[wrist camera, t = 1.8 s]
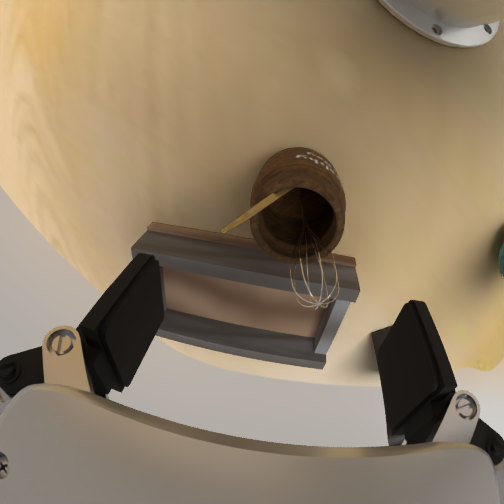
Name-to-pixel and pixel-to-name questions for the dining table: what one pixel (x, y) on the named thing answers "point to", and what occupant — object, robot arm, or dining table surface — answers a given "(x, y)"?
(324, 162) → the utensil holder
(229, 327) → the gray framed rectangular tray
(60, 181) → the dining table surface
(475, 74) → the dining table surface
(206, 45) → the dining table surface
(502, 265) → the beverage bottle
